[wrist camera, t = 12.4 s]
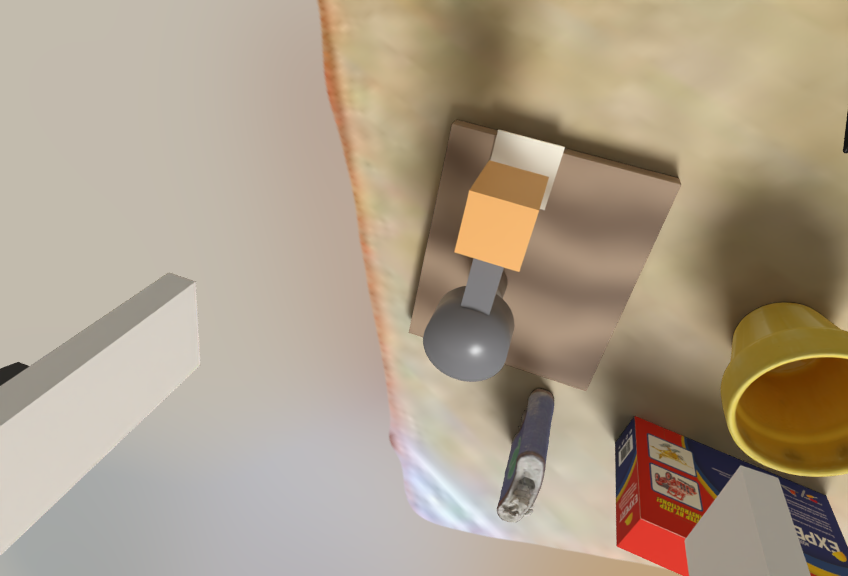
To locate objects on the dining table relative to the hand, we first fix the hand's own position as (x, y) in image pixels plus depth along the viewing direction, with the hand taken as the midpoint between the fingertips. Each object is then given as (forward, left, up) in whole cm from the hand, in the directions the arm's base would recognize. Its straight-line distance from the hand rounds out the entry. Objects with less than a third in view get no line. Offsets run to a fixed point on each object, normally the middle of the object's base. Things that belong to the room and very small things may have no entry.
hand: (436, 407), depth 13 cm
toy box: (+27, +24, -33) cm, 49 cm away
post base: (+12, +1, -33) cm, 35 cm away
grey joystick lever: (+10, -1, -25) cm, 27 cm away
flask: (+29, +7, -33) cm, 44 cm away
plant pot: (+12, +22, -33) cm, 41 cm away
